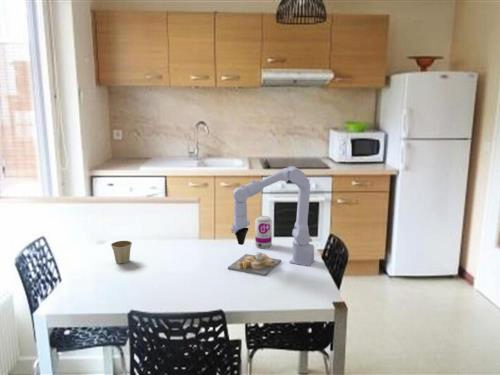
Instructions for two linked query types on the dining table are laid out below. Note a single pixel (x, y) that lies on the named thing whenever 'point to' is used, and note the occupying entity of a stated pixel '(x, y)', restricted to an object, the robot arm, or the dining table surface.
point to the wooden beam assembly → (256, 262)
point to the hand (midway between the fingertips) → (241, 244)
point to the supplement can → (263, 232)
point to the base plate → (256, 271)
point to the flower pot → (121, 251)
